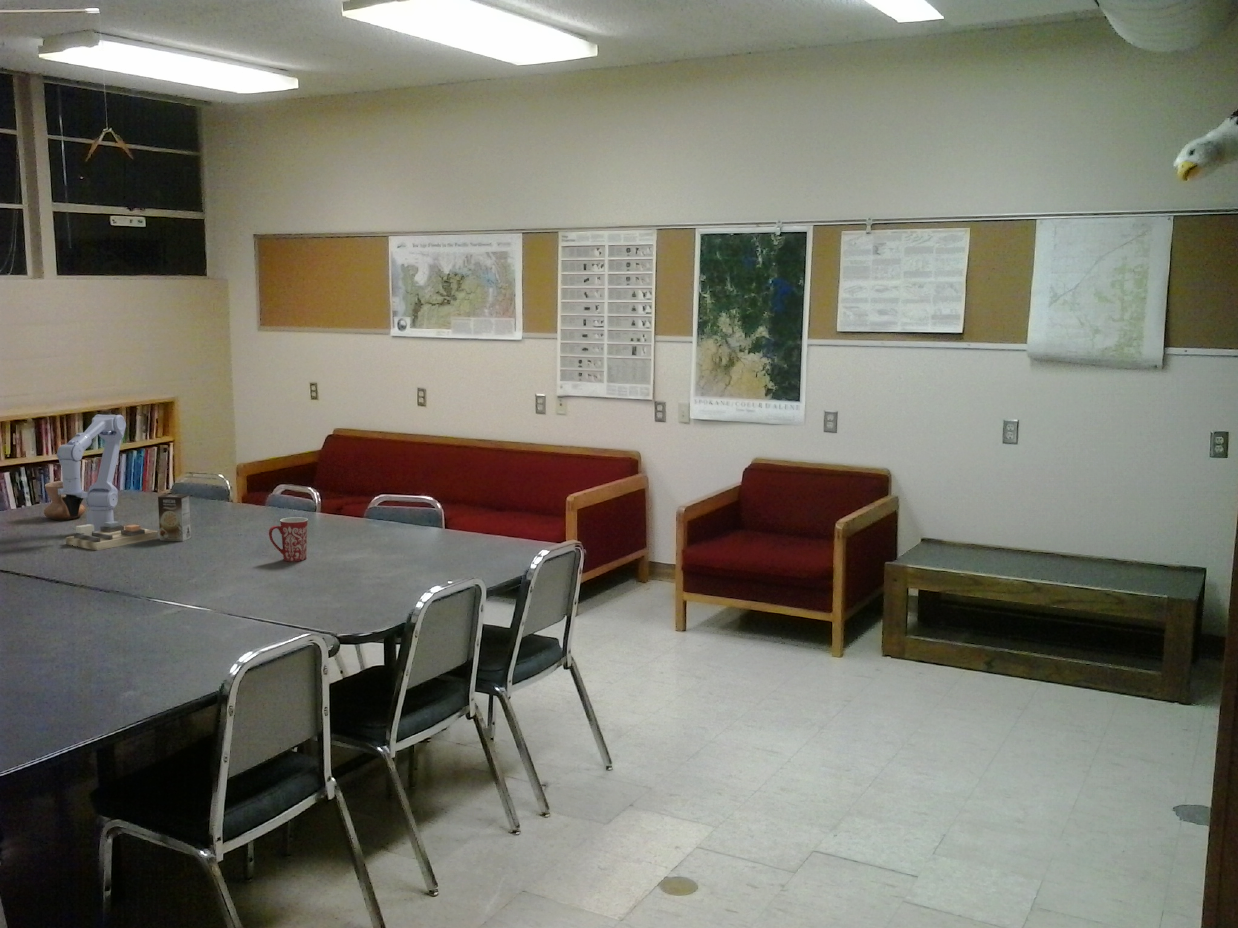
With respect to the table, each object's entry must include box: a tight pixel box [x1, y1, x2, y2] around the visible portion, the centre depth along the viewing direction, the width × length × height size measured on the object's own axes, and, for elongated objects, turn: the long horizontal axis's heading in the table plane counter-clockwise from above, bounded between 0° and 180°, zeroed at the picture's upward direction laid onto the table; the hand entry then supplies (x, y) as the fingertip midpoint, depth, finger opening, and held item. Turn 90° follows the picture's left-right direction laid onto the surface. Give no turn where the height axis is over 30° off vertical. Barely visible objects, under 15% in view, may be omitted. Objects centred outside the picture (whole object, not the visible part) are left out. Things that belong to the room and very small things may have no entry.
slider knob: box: [75, 523, 94, 536], centre depth 382 cm, size 3×5×4 cm, turn 149°
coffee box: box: [157, 493, 192, 542], centre depth 390 cm, size 9×6×16 cm
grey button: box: [104, 520, 121, 528], centre depth 393 cm, size 4×4×2 cm
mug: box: [268, 516, 309, 562], centre depth 360 cm, size 13×9×14 cm
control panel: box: [65, 524, 159, 551], centre depth 387 cm, size 18×24×4 cm
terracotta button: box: [124, 524, 141, 531], centre depth 387 cm, size 4×4×2 cm
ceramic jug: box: [43, 480, 86, 521], centre depth 426 cm, size 18×14×14 cm
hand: (74, 516), depth 384 cm, fingers closed
